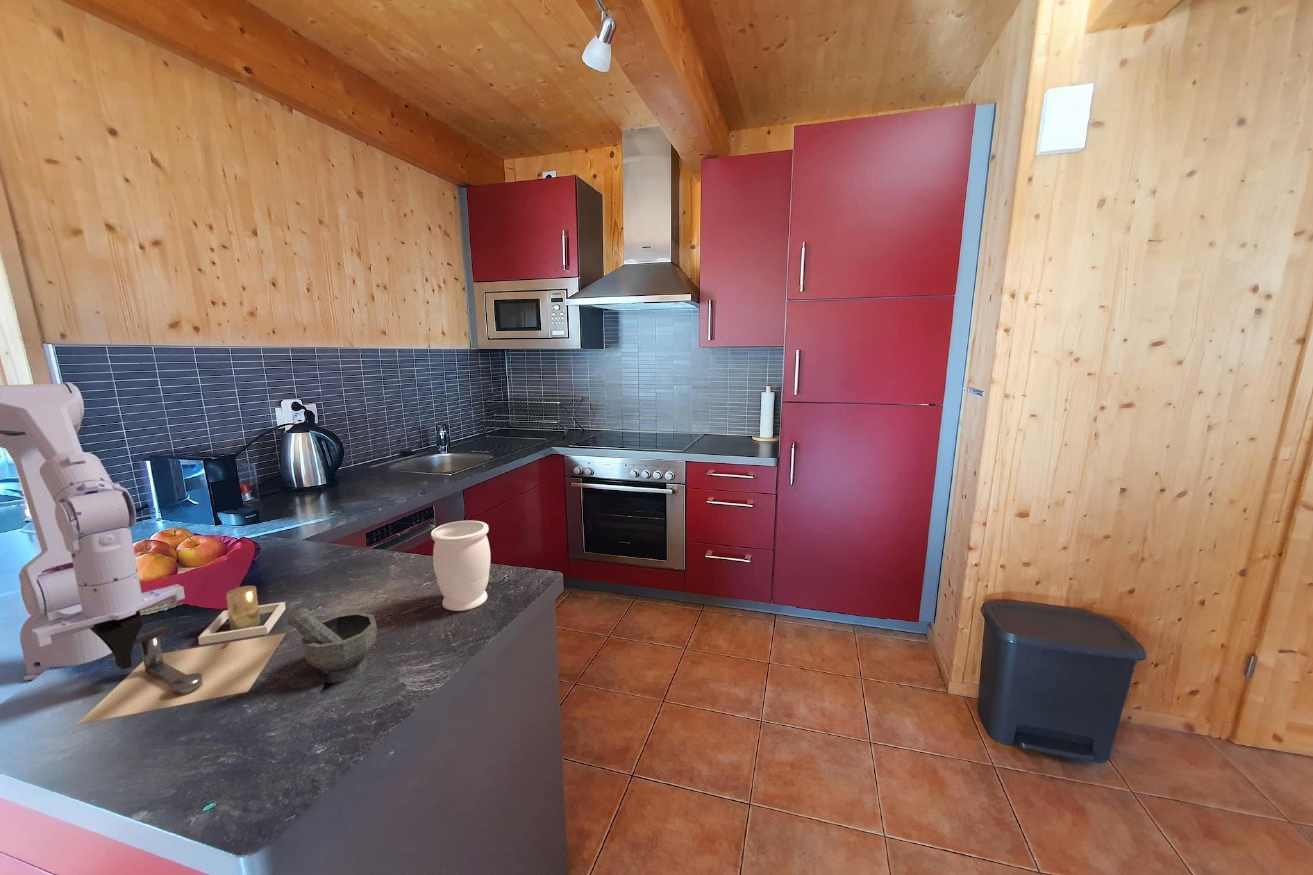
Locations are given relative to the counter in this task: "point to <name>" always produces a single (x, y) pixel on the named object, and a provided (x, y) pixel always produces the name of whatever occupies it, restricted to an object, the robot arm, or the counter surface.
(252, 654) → the crank board
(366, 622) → the mortar and pestle
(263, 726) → the counter surface
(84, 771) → the counter surface
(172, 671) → the crank
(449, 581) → the jar
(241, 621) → the brass cylinder
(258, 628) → the tray
